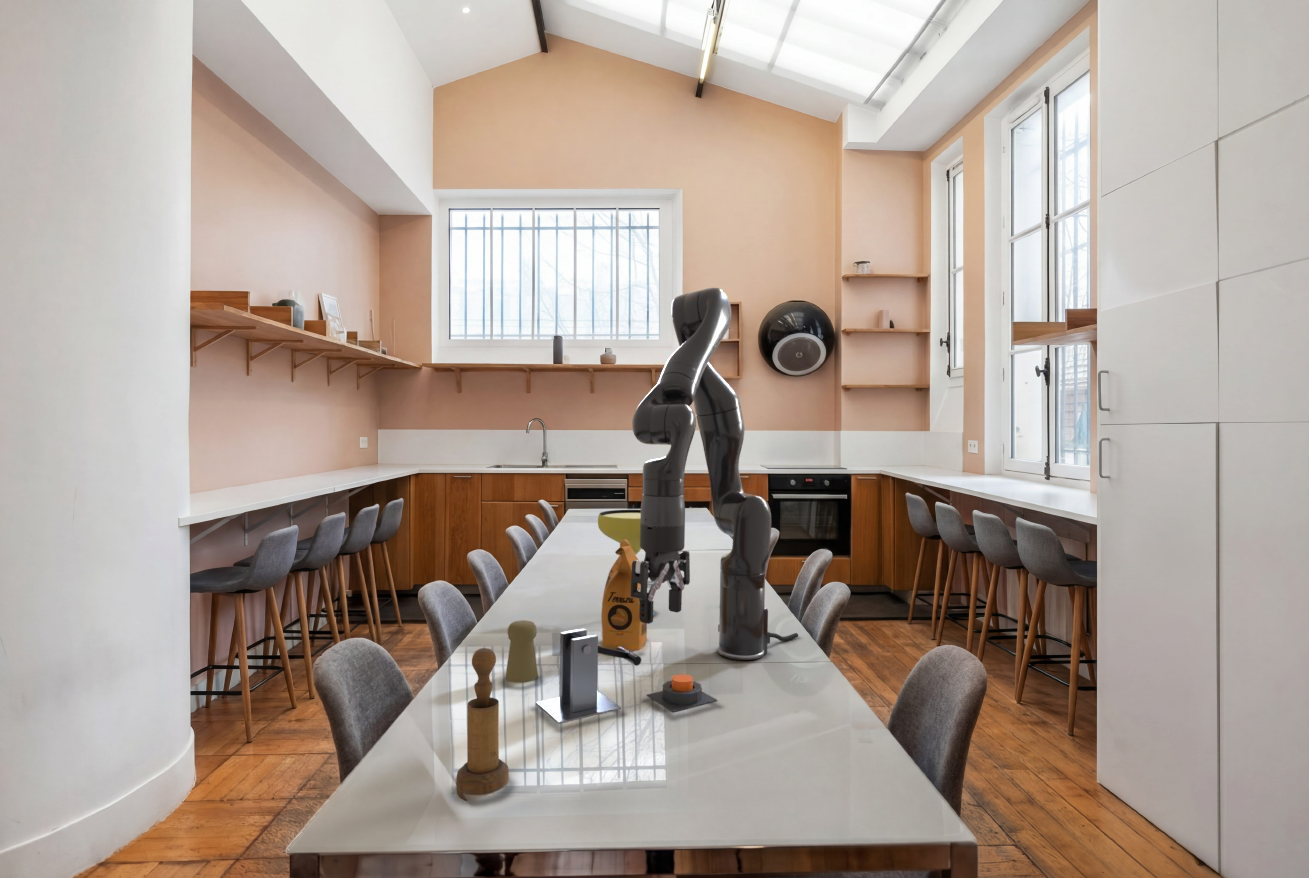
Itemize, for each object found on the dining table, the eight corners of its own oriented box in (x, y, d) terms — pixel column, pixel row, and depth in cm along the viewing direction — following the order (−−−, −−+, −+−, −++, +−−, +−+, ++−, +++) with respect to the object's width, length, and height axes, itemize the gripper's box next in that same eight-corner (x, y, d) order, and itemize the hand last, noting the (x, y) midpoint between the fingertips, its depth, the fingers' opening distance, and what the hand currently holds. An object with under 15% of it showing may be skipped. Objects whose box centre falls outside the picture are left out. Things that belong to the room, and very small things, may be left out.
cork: (530, 689, 121) (531, 627, 121) (499, 686, 122) (499, 625, 122) (543, 677, 127) (544, 618, 127) (512, 674, 128) (513, 616, 128)
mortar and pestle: (462, 775, 91) (463, 641, 91) (511, 774, 92) (513, 640, 91) (451, 803, 85) (452, 658, 84) (504, 801, 85) (506, 657, 85)
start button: (684, 682, 118) (684, 672, 118) (696, 689, 115) (697, 679, 115) (667, 686, 116) (667, 676, 116) (679, 694, 113) (679, 683, 113)
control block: (689, 690, 122) (689, 674, 122) (717, 706, 115) (717, 689, 115) (646, 701, 117) (646, 683, 117) (673, 718, 110) (673, 699, 110)
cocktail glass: (605, 602, 181) (606, 508, 181) (672, 606, 179) (674, 510, 179) (589, 621, 164) (590, 517, 163) (664, 625, 161) (665, 519, 161)
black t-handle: (621, 658, 120) (625, 644, 120) (639, 668, 115) (643, 654, 115) (561, 645, 113) (566, 631, 114) (577, 656, 108) (582, 641, 109)
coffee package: (594, 655, 140) (596, 547, 139) (605, 636, 152) (606, 538, 152) (642, 657, 139) (644, 549, 138) (649, 638, 151) (651, 539, 151)
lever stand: (595, 695, 119) (596, 622, 119) (620, 714, 111) (622, 636, 111) (535, 709, 113) (536, 631, 113) (558, 730, 105) (559, 647, 105)
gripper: (667, 515, 124) (666, 604, 124) (619, 523, 112) (617, 622, 112) (703, 519, 119) (701, 611, 120) (656, 528, 108) (655, 630, 108)
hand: (660, 616), depth 116 cm, fingers open, 8 cm apart
